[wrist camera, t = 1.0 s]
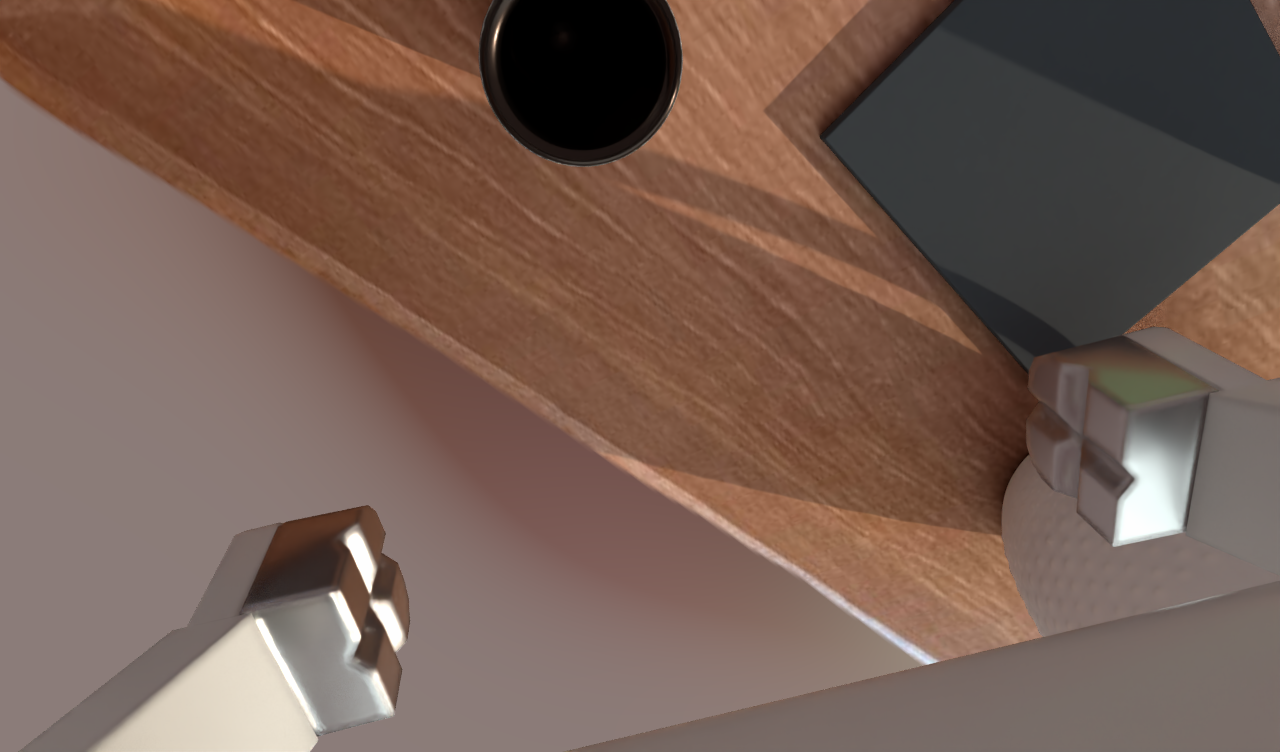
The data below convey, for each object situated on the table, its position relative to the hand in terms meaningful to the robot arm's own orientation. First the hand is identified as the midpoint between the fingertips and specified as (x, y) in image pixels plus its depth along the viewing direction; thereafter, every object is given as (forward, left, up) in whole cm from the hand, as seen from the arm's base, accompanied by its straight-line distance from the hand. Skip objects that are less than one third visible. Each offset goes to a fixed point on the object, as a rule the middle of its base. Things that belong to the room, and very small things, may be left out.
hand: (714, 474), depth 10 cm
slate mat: (+14, +13, -21) cm, 29 cm away
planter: (-3, +2, -21) cm, 22 cm away
